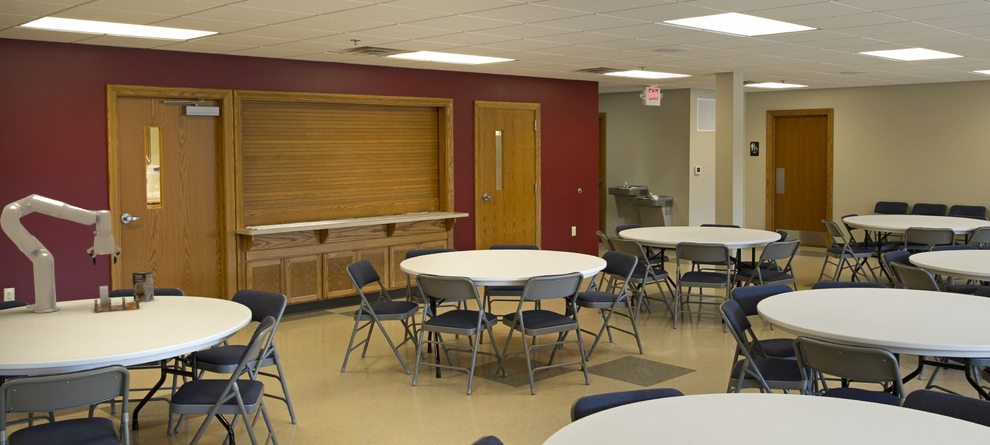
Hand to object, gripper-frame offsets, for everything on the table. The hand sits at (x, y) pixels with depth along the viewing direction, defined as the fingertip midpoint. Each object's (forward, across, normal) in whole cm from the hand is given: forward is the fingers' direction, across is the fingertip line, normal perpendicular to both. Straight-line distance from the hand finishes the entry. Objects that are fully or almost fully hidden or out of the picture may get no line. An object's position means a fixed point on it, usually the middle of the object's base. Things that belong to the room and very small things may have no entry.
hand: (104, 264), depth 456 cm
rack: (+22, +6, -15) cm, 28 cm away
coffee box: (+22, +19, +6) cm, 30 cm away
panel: (+23, -1, 0) cm, 23 cm away
